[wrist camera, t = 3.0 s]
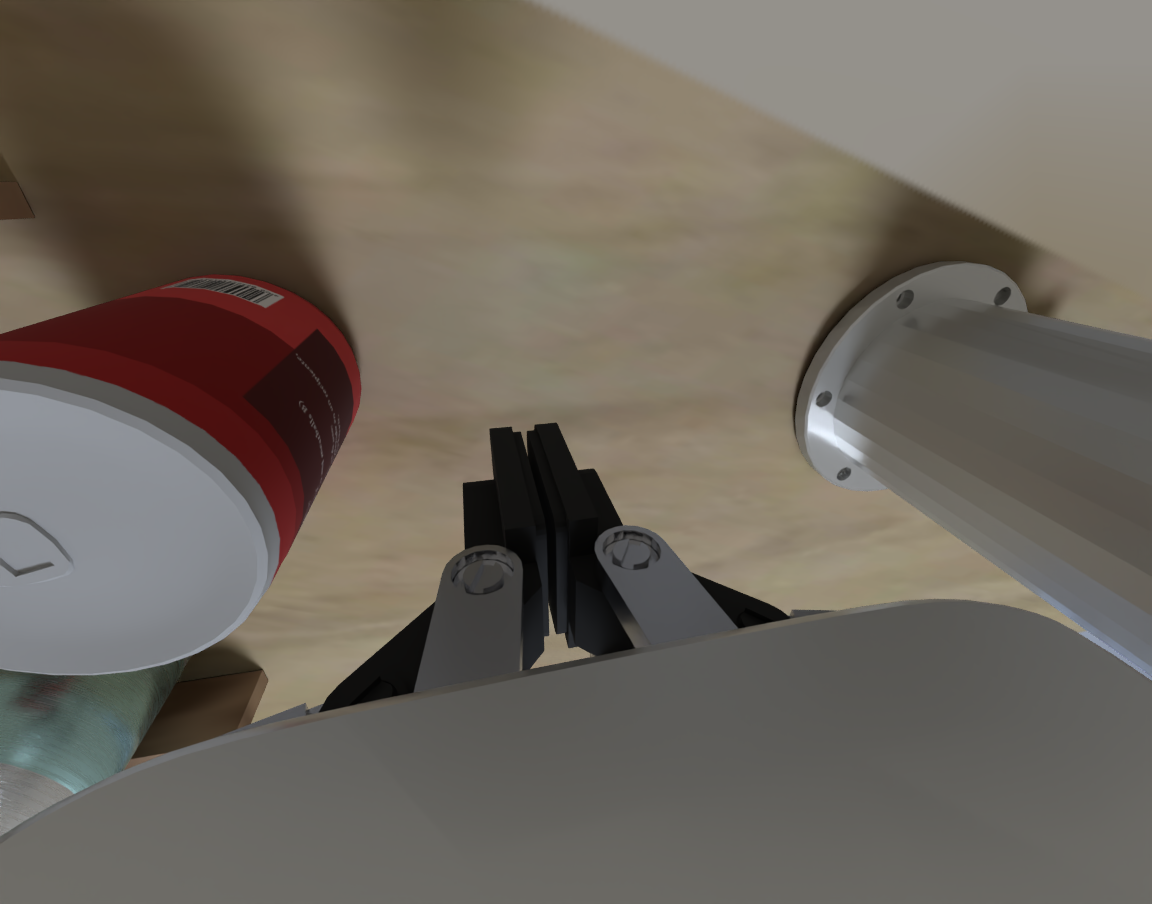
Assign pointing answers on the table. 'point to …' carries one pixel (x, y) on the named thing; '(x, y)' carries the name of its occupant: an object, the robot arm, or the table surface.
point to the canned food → (159, 468)
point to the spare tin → (71, 732)
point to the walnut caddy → (191, 704)
